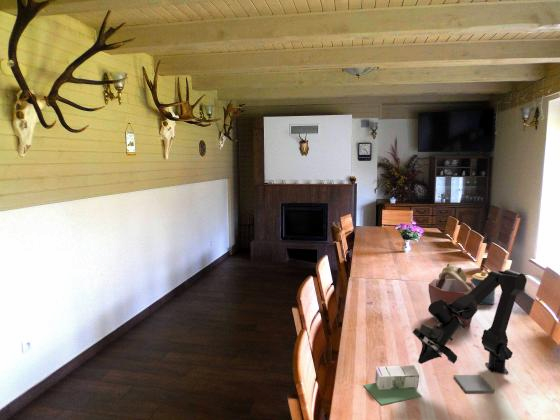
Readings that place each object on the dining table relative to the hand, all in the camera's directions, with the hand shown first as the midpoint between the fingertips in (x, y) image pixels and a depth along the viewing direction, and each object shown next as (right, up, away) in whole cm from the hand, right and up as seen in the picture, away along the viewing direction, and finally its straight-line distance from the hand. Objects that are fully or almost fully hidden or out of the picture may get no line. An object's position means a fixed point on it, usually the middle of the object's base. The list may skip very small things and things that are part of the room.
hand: (419, 362), depth 143 cm
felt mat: (-10, -9, -2) cm, 14 cm away
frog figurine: (+63, +7, +119) cm, 134 cm away
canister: (+65, +3, +84) cm, 106 cm away
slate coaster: (+20, -8, +1) cm, 22 cm away
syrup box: (-1, -5, +1) cm, 5 cm away
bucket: (+36, -1, +57) cm, 67 cm away
